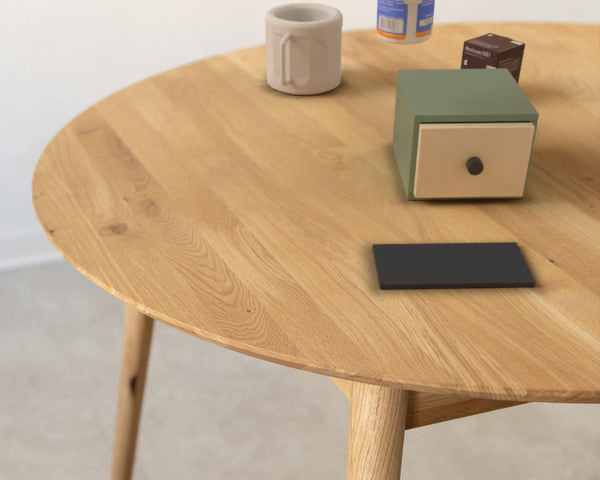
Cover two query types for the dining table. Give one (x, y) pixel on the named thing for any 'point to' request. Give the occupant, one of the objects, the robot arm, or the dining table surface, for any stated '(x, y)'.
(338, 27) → the mug
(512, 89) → the cabinet
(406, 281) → the mat
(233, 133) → the dining table surface
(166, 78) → the dining table surface
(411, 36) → the pill bottle
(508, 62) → the box
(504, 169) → the drawer
